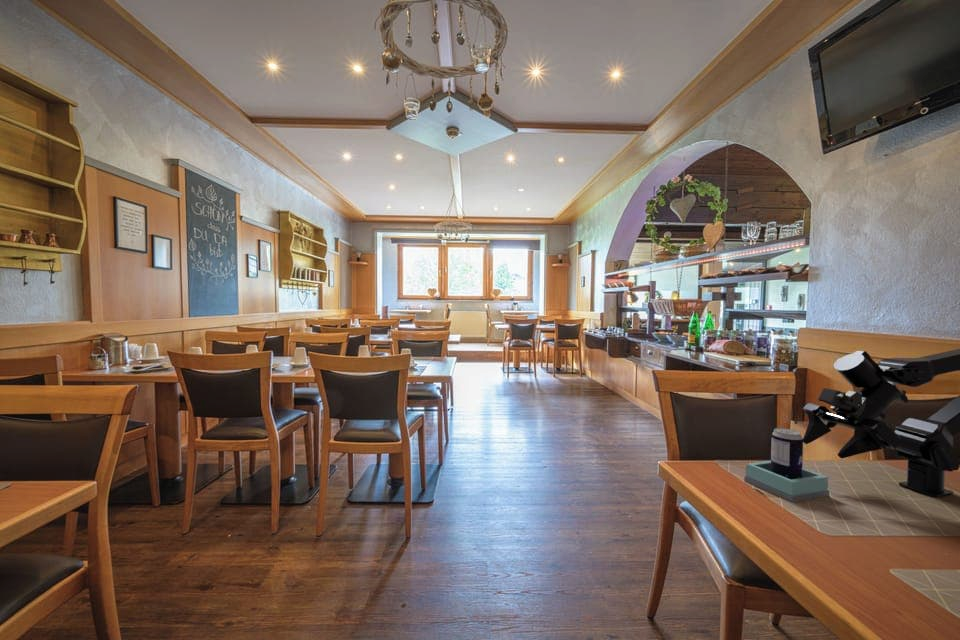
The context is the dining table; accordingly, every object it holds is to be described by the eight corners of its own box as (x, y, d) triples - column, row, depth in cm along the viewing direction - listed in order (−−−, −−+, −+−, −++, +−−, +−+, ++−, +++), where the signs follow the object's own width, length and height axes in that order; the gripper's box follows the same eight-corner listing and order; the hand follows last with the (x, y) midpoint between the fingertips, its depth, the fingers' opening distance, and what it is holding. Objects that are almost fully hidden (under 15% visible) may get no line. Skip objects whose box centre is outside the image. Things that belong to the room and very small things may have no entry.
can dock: (778, 476, 97) (779, 459, 97) (829, 496, 86) (829, 477, 86) (744, 480, 94) (744, 463, 94) (792, 502, 83) (792, 482, 83)
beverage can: (803, 490, 86) (804, 436, 86) (771, 484, 89) (772, 432, 89) (800, 481, 91) (801, 430, 91) (769, 475, 94) (771, 426, 94)
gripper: (811, 370, 99) (766, 414, 99) (888, 384, 80) (833, 437, 80) (841, 401, 99) (797, 445, 99) (925, 422, 80) (870, 475, 81)
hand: (820, 449), depth 90 cm, fingers open, 9 cm apart
